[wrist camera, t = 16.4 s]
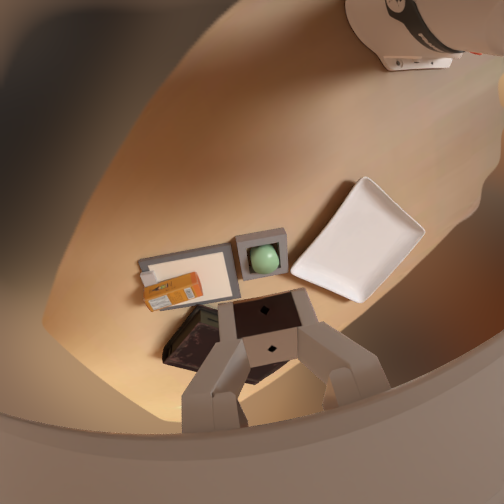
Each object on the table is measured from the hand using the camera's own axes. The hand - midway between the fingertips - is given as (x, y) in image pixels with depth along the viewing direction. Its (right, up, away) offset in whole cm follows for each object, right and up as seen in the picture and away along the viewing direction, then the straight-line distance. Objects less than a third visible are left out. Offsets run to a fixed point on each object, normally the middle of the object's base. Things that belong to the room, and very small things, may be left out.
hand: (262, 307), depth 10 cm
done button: (+1, +2, +38) cm, 38 cm away
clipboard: (-11, -3, +40) cm, 41 cm away
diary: (-5, -18, +51) cm, 55 cm away
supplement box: (-9, -3, +37) cm, 38 cm away
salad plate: (+20, +4, +41) cm, 46 cm away
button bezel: (+1, +2, +39) cm, 39 cm away
